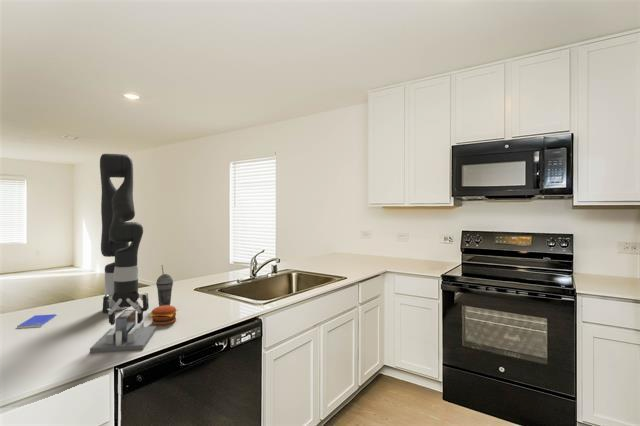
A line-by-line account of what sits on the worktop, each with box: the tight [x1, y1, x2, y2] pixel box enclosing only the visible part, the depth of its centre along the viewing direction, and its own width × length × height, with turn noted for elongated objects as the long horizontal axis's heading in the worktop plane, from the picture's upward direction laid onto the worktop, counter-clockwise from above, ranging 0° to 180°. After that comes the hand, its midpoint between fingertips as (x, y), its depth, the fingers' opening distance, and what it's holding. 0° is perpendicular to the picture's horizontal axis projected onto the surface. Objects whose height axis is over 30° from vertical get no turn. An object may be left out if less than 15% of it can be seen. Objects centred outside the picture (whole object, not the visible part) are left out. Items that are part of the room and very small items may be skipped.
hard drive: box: [16, 313, 58, 329], centre depth 139 cm, size 2×8×12 cm
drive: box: [114, 309, 137, 342], centre depth 122 cm, size 10×4×8 cm, turn 12°
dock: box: [89, 321, 157, 354], centre depth 123 cm, size 18×16×6 cm
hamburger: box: [149, 305, 179, 327], centre depth 142 cm, size 9×10×7 cm
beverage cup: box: [155, 264, 174, 307], centre depth 160 cm, size 7×7×20 cm
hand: (126, 323), depth 122 cm, fingers open, 8 cm apart
